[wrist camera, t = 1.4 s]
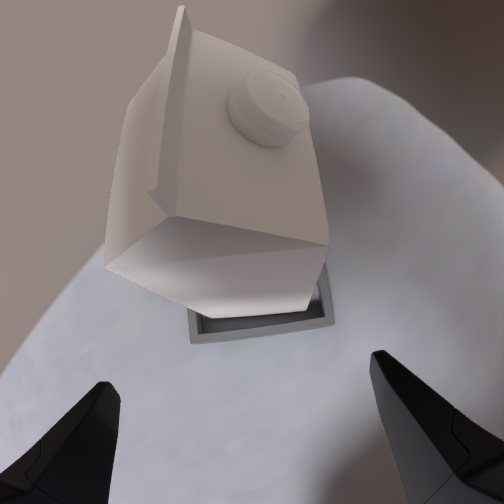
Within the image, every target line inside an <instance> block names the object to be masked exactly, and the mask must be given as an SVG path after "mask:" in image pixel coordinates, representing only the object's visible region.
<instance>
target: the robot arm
mask: <svg viewBox="0 0 504 504" xmlns="http://www.w3.org/2000/svg"><path fill="white" fill-rule="evenodd" d="M370 377H371V381H372V385H373V389H374V393H375V397H376V402H377V406H378V410H379V414H380V417H381V420H382V423H383V425H384V428H385V431H386V434H387V437H388V440H389V442H390V445H391V448H392V451H393V454H394V457H395V460H396V463H397V466H398V469H399V472H400V475H401V478H402V481H403V484H404V487H405V490H406V494H407V497H408V500H409V503H410V504H504V441H502V440H501V439H499V438H498V437H496V436H494V435H493V434H491V433H489V432H488V431H486V430H485V429H483V428H482V427H480V426H479V425H477V424H476V423H474V422H473V421H472V420H470V419H469V418H468V417H466V416H465V415H464V414H462V413H461V412H460V411H459V410H458V409H456V408H455V409H454V406H453V405H451V404H450V403H449V402H448V401H446V400H445V399H444V398H443V397H442V396H440V395H439V394H438V393H437V392H435V391H434V390H433V389H432V388H431V387H429V386H428V385H427V384H426V383H424V382H423V381H422V380H421V379H419V378H418V377H417V376H416V375H415V374H413V373H412V372H411V371H410V370H408V369H407V368H406V367H405V366H403V365H402V364H401V363H400V362H399V361H397V360H396V359H395V358H394V357H392V356H391V355H390V354H389V353H387V352H386V351H385V350H379V351H375V352H372V354H371V360H370ZM120 403H121V400H120V396H119V394H118V393H117V391H116V390H115V388H114V387H113V385H112V384H111V383H110V382H108V381H101V382H98V383H97V384H96V385H95V386H94V387H93V388H92V389H91V390H90V391H89V392H88V393H87V394H86V395H85V396H84V397H83V398H82V399H81V400H80V401H79V402H78V403H77V404H76V405H74V406H73V407H72V408H71V409H70V410H69V411H68V412H67V413H66V414H65V415H64V416H63V417H62V418H61V419H60V420H59V421H58V422H57V423H56V424H55V425H54V426H53V427H52V428H51V429H50V430H49V431H48V432H47V433H46V434H45V435H44V436H43V437H42V438H41V439H40V440H39V441H38V442H37V443H36V444H35V445H34V446H32V447H31V448H30V449H29V450H28V451H27V452H26V453H25V454H24V455H23V456H21V457H20V458H19V459H18V460H17V461H15V462H14V463H13V464H12V465H10V466H9V467H8V468H7V469H5V470H4V471H3V472H2V473H0V504H108V499H109V491H110V484H111V476H112V470H113V463H114V457H115V450H116V444H117V438H118V428H119V415H120Z"/></svg>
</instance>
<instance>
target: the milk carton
mask: <svg viewBox="0 0 504 504" xmlns="http://www.w3.org/2000/svg"><path fill="white" fill-rule="evenodd" d="M309 121H310V112H309V108H308V105H307V103H306V100H305V99H304V97H303V95H302V94H301V90H300V87H299V84H298V81H297V78H296V77H295V75H294V74H292V73H291V72H289V71H287V70H285V69H283V68H281V67H279V66H278V65H275V64H274V63H272V62H270V61H268V60H266V59H263V58H261V57H259V56H257V55H255V54H253V53H250V52H249V51H246V50H244V49H242V48H240V47H237V46H235V45H233V44H230V43H228V42H226V41H223V40H221V39H218V38H216V37H213V36H211V35H208V34H206V33H203V32H200V31H198V30H195V29H192V28H191V24H190V21H189V18H188V15H187V11H186V8H185V6H184V5H183V6H179V7H178V10H177V14H176V18H175V22H174V25H173V29H172V33H171V38H170V42H169V47H168V51H167V54H166V55H165V57H164V58H163V59H162V60H161V61H160V63H159V64H158V65H157V67H156V68H155V69H154V71H153V72H152V73H151V74H150V76H149V77H148V78H147V80H146V81H145V82H144V84H143V85H142V87H141V88H140V89H139V91H138V92H137V93H136V95H135V96H134V98H133V99H132V100H131V102H130V104H129V105H128V108H127V113H126V116H125V121H124V125H123V130H122V134H121V139H120V144H119V149H118V154H117V160H116V166H115V171H114V177H113V183H112V190H111V197H110V205H109V212H108V220H107V230H106V239H105V251H104V268H106V269H108V270H110V271H112V272H114V273H116V274H118V275H120V276H122V277H124V278H126V279H128V280H130V281H132V282H134V283H136V284H138V285H140V286H142V287H144V288H146V289H148V290H150V291H152V292H155V293H157V294H159V295H161V296H163V297H165V298H167V299H170V300H172V301H174V302H176V303H178V304H180V305H183V306H185V307H187V308H189V309H191V310H194V311H196V312H198V313H201V314H203V315H205V316H207V317H210V318H229V317H243V316H256V315H268V314H279V313H290V312H300V311H306V310H307V307H308V304H309V302H310V299H311V297H312V294H313V292H314V289H315V286H316V284H317V281H318V278H319V276H320V273H321V270H322V267H323V265H324V262H325V259H326V256H327V253H328V250H329V246H330V235H329V227H328V220H327V214H326V208H325V202H324V196H323V191H322V185H321V180H320V175H319V170H318V165H317V160H316V155H315V150H314V145H313V141H312V136H311V132H310V127H309Z"/></svg>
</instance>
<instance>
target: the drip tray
mask: <svg viewBox="0 0 504 504" xmlns="http://www.w3.org/2000/svg"><path fill="white" fill-rule="evenodd" d="M317 285H318V291H319V297H320V302H321V308H322V315H323V317H321V318H316V319H310V320H304V321H297V322H291V323H285V324H278V325H271V326H264V327H257V328H250V329H242V330H234V331H226V332H217V333H208V334H203V328H202V318H201V313H198V312H196V311H194V310H191V309H189V308H187V311H188V322H189V333H190V343H191V344H204V343H214V342H223V341H232V340H240V339H248V338H256V337H263V336H271V335H278V334H284V333H291V332H297V331H303V330H309V329H315V328H321V327H327V326H332V325H334V324H335V319H334V313H333V307H332V301H331V296H330V290H329V285H328V279H327V274H326V269H325V264H324V265H323V267H322V270H321V273H320V276H319V278H318V281H317Z"/></svg>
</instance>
